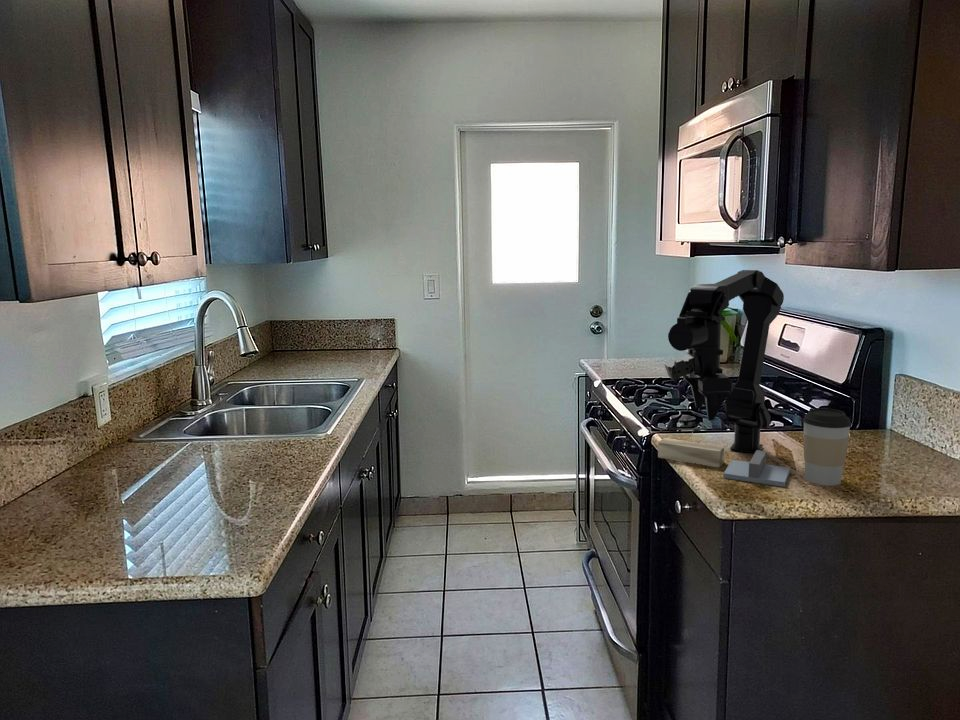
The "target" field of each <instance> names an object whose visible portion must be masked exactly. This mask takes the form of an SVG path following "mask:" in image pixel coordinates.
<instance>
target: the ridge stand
mask: <svg viewBox="0 0 960 720" xmlns="http://www.w3.org/2000/svg"><path fill="white" fill-rule="evenodd" d="M766 463H767V451H766V450H761V451H760V450H756V452H755V453H753V456H752V458H751V459H750V461H745V460H744V461H743V460H736V459H731V461H730V463H729V464H728V465H727V467H726V469H725V471H724V472H723V477H722V478H724V479H729V480H736V481H742V482H750V483H757V484H763V485H770V486H774V487H775V486H776V487H782V488H785V487H786V483H787V482H788V479H789V476H790V474H791V467H789V466H788V467H787V466H780V465H773V464H766Z"/></svg>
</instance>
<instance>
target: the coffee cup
mask: <svg viewBox="0 0 960 720" xmlns="http://www.w3.org/2000/svg"><path fill="white" fill-rule="evenodd" d="M802 422H803V431H802V435H803V437H802V440H803V459H804V478H805V480H806V481H807V482H809V483H811V484H815V485H821V486H827V487H829V486H839V485H840V484H841V482H842V478H843V471H844V465H845V463H846V457H847V454H848V453H847V452H848V448H849V442H850V428H851V426H852V422H851V418H850V417H848V416H847V415H846V413H845V412H844V411H841V410H840V409H835V408H834V409H833V408H824V407H822V408H821V407H820V408H813V407H810V408H809V410H808V413H805V414H804V416H803V419H802Z"/></svg>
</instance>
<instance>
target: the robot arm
mask: <svg viewBox="0 0 960 720" xmlns="http://www.w3.org/2000/svg"><path fill="white" fill-rule="evenodd" d="M738 297H739V298H740V300H741V302H742V311H743V313H744V315H745V318H746V319H747V325H746V330H745V331H746V332H745V336H744V337H745V338H744V341H743V342H744V343H743V349H742V354H741V361H740V366H739V373H738V379H737V382H735V384H734V381H733V380H732V378H730V377H729V376H727V375H725V374H723V368H721V364H720V363H721V356H723V355H724V349H722V348H721V334H722V333H721V329H722V327H721V326H722V322H724V321H725V320H726V317H725V316H724V315H723V314H722V313H723V312H724V311H725V310H726V309H727V308H729V306H730V301H731V300H734V299H735V298H738ZM784 297H785V296H784V293H783V291H782V289H781V288H780V286H779V284H778V283H777V282H775V281H773V280H772V279H770V278H769V277H767V276H765V274H764V273H763V271H760V270H758V269H741V270H739V271H737V273H736V274H733V275H730V276H729V277H726V278H724V279H722V280H719V281H717V282H715V283H701V284H695V285H693V286H691V288H690V290H689V291H688V293H687V295H686V298H685V300H684V302H683V305H682V306H681V310H680V313H679V314H678V316H679V317H677V318H676V323H675V324H673V325H672V326H671V327H670V329H669V331H668V333H667V340H668V342H669V344H670V346H671V347H672V348H673V349H674V350H676V351H678V352H679V351H680V352H683V351H687V354H685V355H681V356H679V357H676V358H674V359H671V360H669V361H666V362H664V364H663V365H664V367H665V370H666V372H667V375H668V378H670V379H671V380H672V381H677V380H679V379H680V378H683V379H684V380H685V381H686V382H687V383H688V384H689V385H690V388H691V392H692V397H693V400H694V401H693V402H694V405H695V409H696V410H701V409H702V408H703V406H704V403H705V407H706V408H705V409H706V416H707V420H708V421H714V420H715V418H716V417H717V415H718V413H719V411H720V409H721V407H722V405H723V404H724V408H723V409H724V413H725V414H724V415H725V418H726V420H725V421H726V423H729V424H734V440H733V441H734V442H733V443H732V445H731V446H730V448H729V449H730V451H736V452H742V453H752V454H755V452H756V450H760V451H762V449H763V448H764V447H763V446H764V445H763V444H761V429H768V428H769V426H770V423H771V419H772V418H771V415H770V412H769V411H768V409H767V407H766V406H765V400H766V399H765V398H766V397H765V394H764V392H763V390H762V387H761V380H762V372H763V367H764V360H765V354H766V349H767V342H768V337H769V330H770V325H771V324H772V323H773V322H774V321H775V319H776V318H777V317H778V316H779V315H780V311H781V308H782V305H783V303H784V300H785V299H784Z"/></svg>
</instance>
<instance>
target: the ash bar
mask: <svg viewBox="0 0 960 720" xmlns="http://www.w3.org/2000/svg"><path fill="white" fill-rule="evenodd" d="M657 444H658V445H657V458H659V459H664V460H665V459H666V460H672V461H676V462H677V461H678V462H683V463H689V464H695V463H696V464H695V465H701V464H702V465H703V466H707V467H708V466H709V467H715V468H720V467H721V466H722V465H723V464H725V446H724V445H717V444H708V443H704V442H702V443H701V442H695V441H689V440H688V441H687V440H682V439H674V438H667V437H664V438H661V440H659V441H658V443H657ZM702 465H701V466H702Z"/></svg>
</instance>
